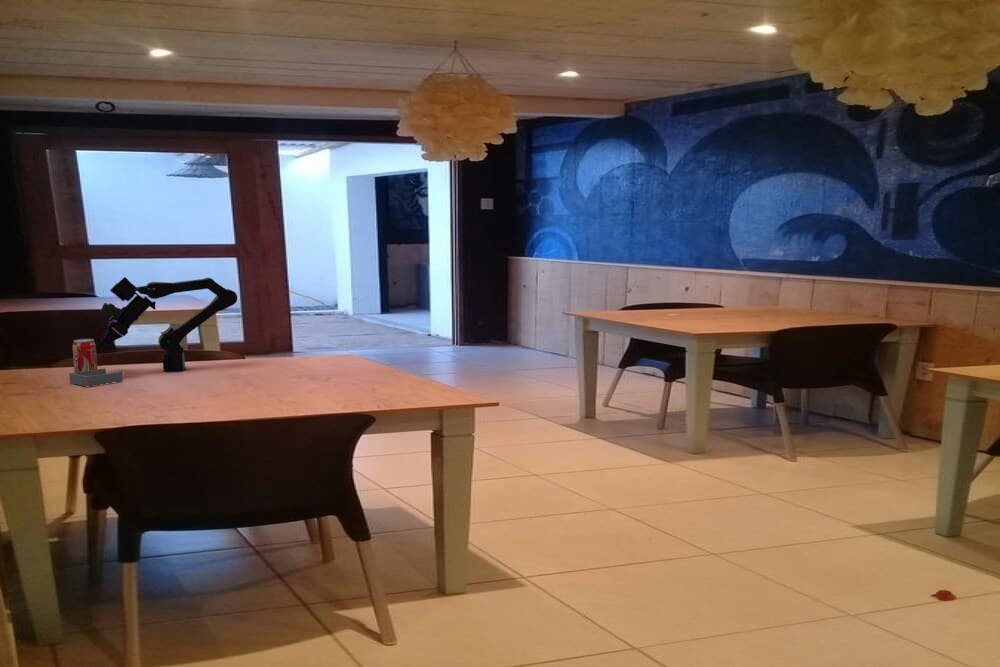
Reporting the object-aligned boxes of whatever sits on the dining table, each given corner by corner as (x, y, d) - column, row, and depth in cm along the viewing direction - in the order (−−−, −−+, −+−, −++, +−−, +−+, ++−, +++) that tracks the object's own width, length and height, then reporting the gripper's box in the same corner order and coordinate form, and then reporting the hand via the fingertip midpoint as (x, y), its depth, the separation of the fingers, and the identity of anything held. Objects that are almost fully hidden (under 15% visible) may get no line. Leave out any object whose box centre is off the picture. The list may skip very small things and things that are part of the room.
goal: (105, 377, 265) (104, 368, 265) (122, 381, 258) (121, 371, 258) (70, 383, 256) (69, 373, 256) (87, 387, 249) (86, 377, 249)
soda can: (95, 374, 272) (92, 338, 270) (100, 377, 266) (97, 340, 265) (72, 376, 267) (69, 339, 266) (77, 379, 262) (74, 342, 260)
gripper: (114, 292, 276) (81, 325, 273) (114, 296, 260) (79, 331, 256) (140, 313, 281) (108, 345, 277) (141, 318, 264) (108, 352, 261)
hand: (100, 343), depth 268 cm, fingers open, 9 cm apart
